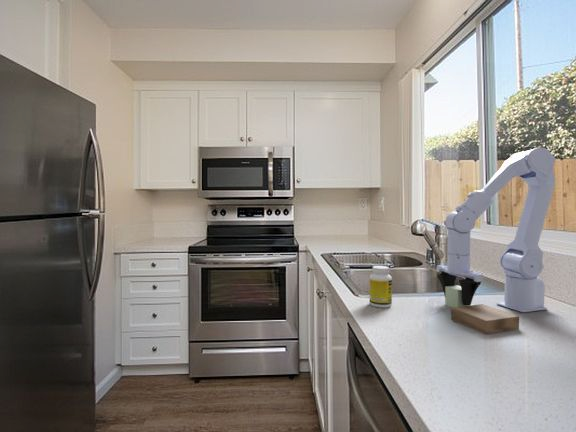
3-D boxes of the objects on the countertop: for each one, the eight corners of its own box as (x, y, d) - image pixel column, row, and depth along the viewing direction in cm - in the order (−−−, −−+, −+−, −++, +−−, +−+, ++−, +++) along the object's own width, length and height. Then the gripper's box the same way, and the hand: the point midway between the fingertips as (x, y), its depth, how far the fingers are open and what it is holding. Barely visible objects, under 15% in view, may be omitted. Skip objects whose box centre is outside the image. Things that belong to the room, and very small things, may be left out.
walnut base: (481, 315, 87) (482, 304, 87) (518, 329, 78) (519, 316, 77) (451, 319, 84) (451, 307, 84) (486, 334, 74) (486, 320, 74)
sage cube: (457, 303, 97) (457, 285, 97) (470, 308, 93) (470, 289, 93) (445, 305, 96) (445, 286, 96) (457, 310, 92) (457, 290, 92)
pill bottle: (392, 309, 92) (393, 269, 92) (369, 307, 94) (370, 268, 93) (390, 302, 98) (391, 265, 98) (369, 301, 100) (369, 264, 99)
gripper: (428, 251, 100) (427, 296, 100) (468, 258, 86) (467, 310, 86) (447, 250, 102) (446, 294, 102) (489, 257, 88) (488, 308, 89)
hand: (457, 301), depth 95 cm, fingers open, 6 cm apart
